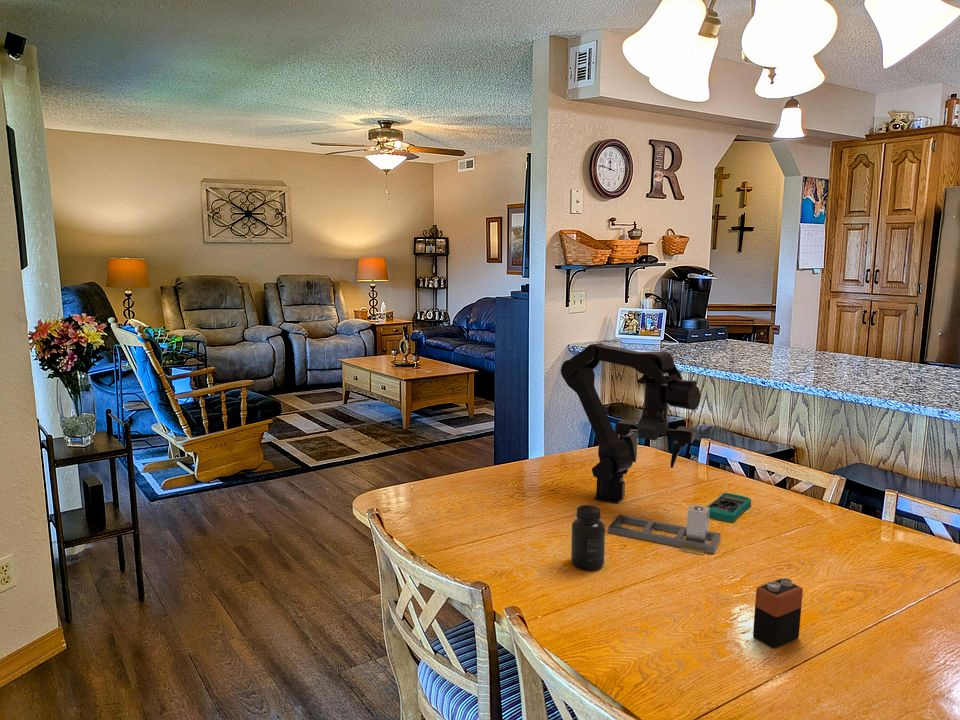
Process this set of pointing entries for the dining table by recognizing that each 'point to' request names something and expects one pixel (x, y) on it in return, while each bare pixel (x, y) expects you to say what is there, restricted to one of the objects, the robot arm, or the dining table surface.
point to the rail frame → (648, 536)
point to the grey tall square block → (697, 523)
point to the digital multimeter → (728, 507)
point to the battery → (777, 612)
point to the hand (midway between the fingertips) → (653, 464)
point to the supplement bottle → (588, 539)
